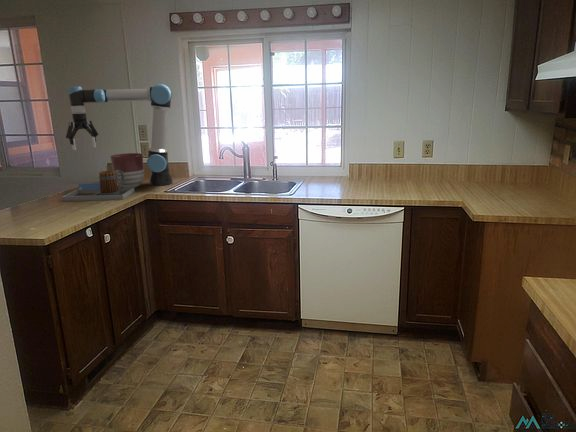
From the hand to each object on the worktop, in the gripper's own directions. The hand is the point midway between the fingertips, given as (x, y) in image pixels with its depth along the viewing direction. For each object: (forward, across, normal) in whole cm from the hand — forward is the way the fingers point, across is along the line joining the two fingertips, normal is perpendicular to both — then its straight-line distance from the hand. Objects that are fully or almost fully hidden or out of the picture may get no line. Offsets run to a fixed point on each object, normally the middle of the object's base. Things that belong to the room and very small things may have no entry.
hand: (84, 148), depth 262 cm
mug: (+28, +2, +24) cm, 37 cm away
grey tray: (+27, +6, +17) cm, 33 cm away
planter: (+28, -19, +14) cm, 36 cm away
